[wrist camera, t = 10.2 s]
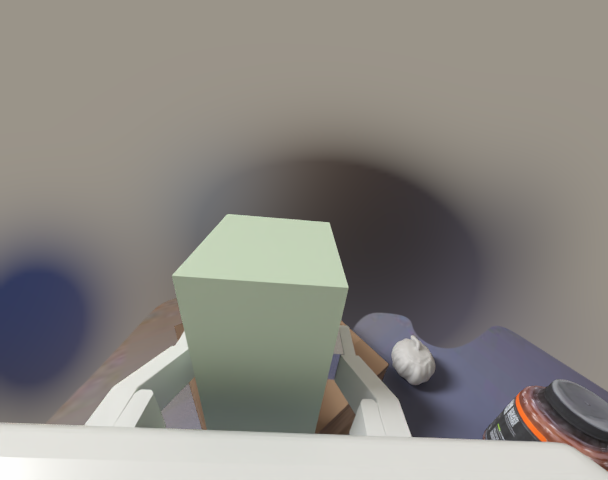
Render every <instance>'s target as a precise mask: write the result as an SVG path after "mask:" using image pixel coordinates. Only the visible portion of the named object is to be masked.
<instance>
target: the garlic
mask: <svg viewBox="0 0 608 480" xmlns="http://www.w3.org/2000/svg"><path fill="white" fill-rule="evenodd" d="M411 339H412V340H410V339H404V340H403V341H399V342H397V343H396V345H395V346H394V347H393V350H392V355H391V356H392V360H393V367H394V368H395V369H396V370H397V372H398V374H399V375H400V376H401V377H403V378H405V379H406V380H407V381H408V382H409V383H410V384H412V385H419V384H420V383H422V382H427V381H428V380H429V379H430V377H431V376H432V375H433V374H434V372H435V362H434V359H433V357H432V354H431V353H430V352H429V350H428V348H427V347H425V346H424V345H423V344H422V343H421V342H420V341H419V340H417V339H416V338H415V337H414V336H411Z"/></svg>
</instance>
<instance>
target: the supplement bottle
mask: <svg viewBox="0 0 608 480" xmlns="http://www.w3.org/2000/svg"><path fill="white" fill-rule="evenodd" d="M483 440H507V441H536V442H557V443H564V444H567V445H569V446H571V447H574V448H575V449H577V450H578V451H579V452H581V453H582V454H584V455H585V456H587V457H588V458H590V459H591V460H593V461H594V462H595V463H597V464H598V465H599V466H601V467H602V468H604V469H605V470H606V471H608V404H607V403H606V402H605V401H604V400H602V399H601V398H600V397H598V396H597V395H596V394H594V393H593V392H591V391H589V390H587V389H586V388H584V387H582V386H580V385H578V384H576V383H573V382H571V381H567V380H560V379H557V380H554V381H553V382H552V383H551V384H550V385H549V386H547V387H541V386H528V387H526V388H525V389H523V390H522V391H521V392H520V393H519V394H518V395H517V396H516V397H515V398H514V399H513V400H512V402H511V403H510V404H509V405H508V406H507V407H506V408H505V409H504V410H503V411H502V412H501V413H500V415H499V416H498V417H497V418H496V419H495V420H494V421H493V422H492V423H491V424H490V425H489V427H488V428H487V429H486V430H485V432H484V434H483Z"/></svg>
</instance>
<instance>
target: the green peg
mask: <svg viewBox="0 0 608 480" xmlns="http://www.w3.org/2000/svg"><path fill="white" fill-rule="evenodd" d="M172 278H173V283H174V287H175V291H176V296H177V300H178V305H179V309H180V314H181V318H182V322H183V327H184V331H185V336H186V340H187V344H188V349H189V353H190V358H191V362H192V366H193V371H194V375H195V380H196V384H197V388H198V393H199V397H200V402H201V406H202V410H203V415H204V419H205V424H206V428H207V430H226V431H254V432H282V433H309V434H315V430H316V425H317V421H318V417H319V412H320V408H321V404H322V400H323V395H324V391H325V387H326V382H327V378H328V374H329V369H330V365H331V361H332V357H333V352H334V348H335V344H336V339H337V335H338V331H339V327H340V322H341V318H342V314H343V309H344V305H345V301H346V296H347V292H348V284H347V281H346V278H345V274H344V271H343V268H342V264H341V261H340V257H339V254H338V251H337V247H336V244H335V241H334V237H333V234H332V231H331V227H330V223H329V222H317V221H304V220H293V219H280V218H268V217H256V216H244V215H232V214H227V215H226V216H225V218H224V219H223V220H222V221H221V222H220V223H219V224H218V225H217V226H216V228H215V229H214V230H213V231H212V232H211V233H210V234H209V235H208V236H207V237H206V239H205V240H204V241H203V242H202V243H201V244H200V245H199V246H198V247H197V249H196V250H195V251H194V252H193V253H192V254H191V255H190V256H189V257H188V258H187V260H186V261H185V262H184V263H183V264H182V265H181V266H180V267H179V268H178V270H177V271H176V272H175V273H174V274H173V275H172Z"/></svg>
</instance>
